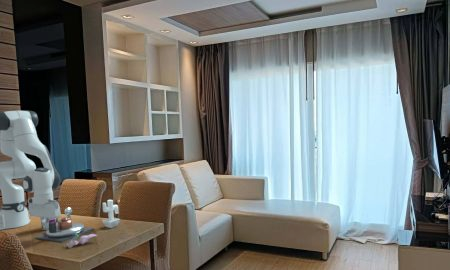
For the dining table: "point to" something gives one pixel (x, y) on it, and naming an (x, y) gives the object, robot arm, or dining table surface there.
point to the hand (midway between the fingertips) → (45, 225)
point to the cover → (64, 224)
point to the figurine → (110, 214)
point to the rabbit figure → (82, 240)
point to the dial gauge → (68, 212)
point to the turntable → (55, 232)
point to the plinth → (65, 238)
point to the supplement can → (50, 222)
